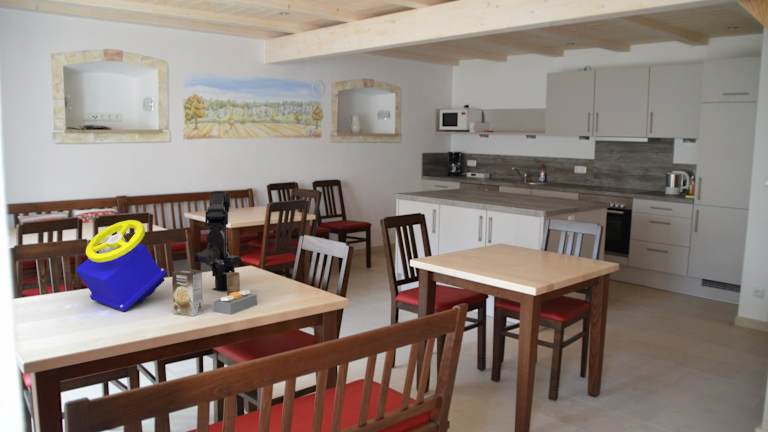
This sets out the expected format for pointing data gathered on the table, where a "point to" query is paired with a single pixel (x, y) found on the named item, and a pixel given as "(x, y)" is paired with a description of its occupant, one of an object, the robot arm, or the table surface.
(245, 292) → the block
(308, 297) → the table surface
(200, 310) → the coffee box
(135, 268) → the control box
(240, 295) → the block
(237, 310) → the switch panel
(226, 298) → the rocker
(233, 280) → the wood post
